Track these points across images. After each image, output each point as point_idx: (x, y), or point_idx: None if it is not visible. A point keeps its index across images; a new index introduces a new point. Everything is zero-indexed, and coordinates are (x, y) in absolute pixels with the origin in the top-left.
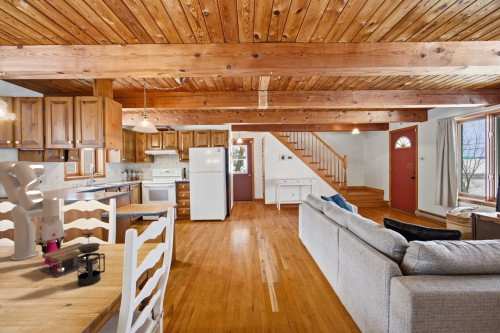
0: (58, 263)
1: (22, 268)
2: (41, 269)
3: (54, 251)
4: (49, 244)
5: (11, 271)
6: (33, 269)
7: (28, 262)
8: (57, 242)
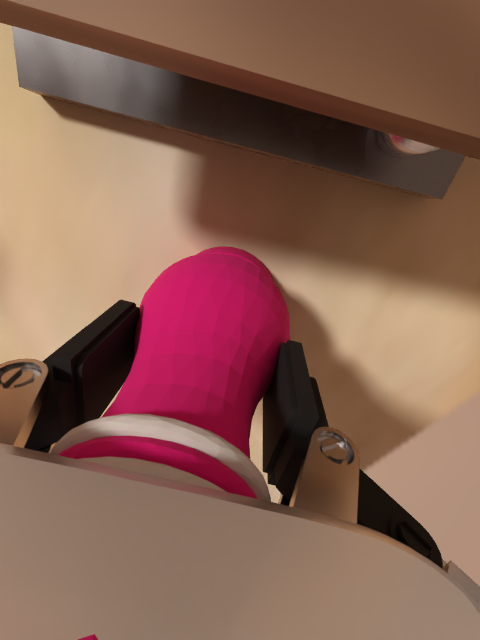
0: (277, 139)
1: (357, 391)
2: (450, 171)
3: (452, 22)
4: (240, 418)
5: (407, 409)
6: (374, 303)
7: (262, 436)
8: (77, 404)
